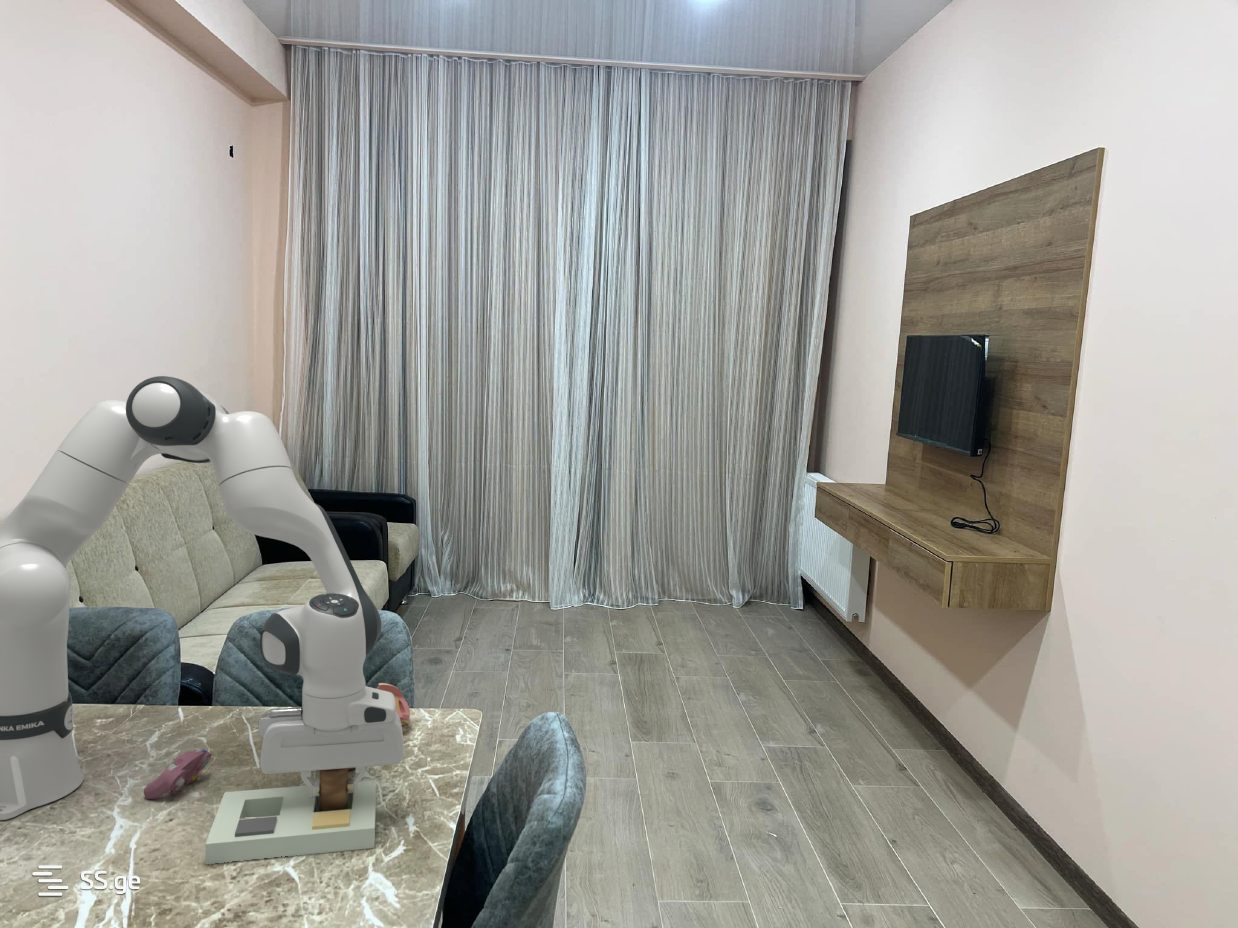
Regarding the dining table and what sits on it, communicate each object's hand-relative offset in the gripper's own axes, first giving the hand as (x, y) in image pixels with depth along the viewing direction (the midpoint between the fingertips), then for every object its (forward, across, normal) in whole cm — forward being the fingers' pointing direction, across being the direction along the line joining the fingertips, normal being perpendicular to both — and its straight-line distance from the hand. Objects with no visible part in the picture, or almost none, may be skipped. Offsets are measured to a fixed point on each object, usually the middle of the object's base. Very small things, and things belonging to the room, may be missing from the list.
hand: (333, 793), depth 129 cm
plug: (+3, 0, 0) cm, 3 cm away
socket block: (+4, -5, -2) cm, 7 cm away
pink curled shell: (+4, +8, +30) cm, 32 cm away
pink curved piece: (+4, -24, +14) cm, 28 cm away
